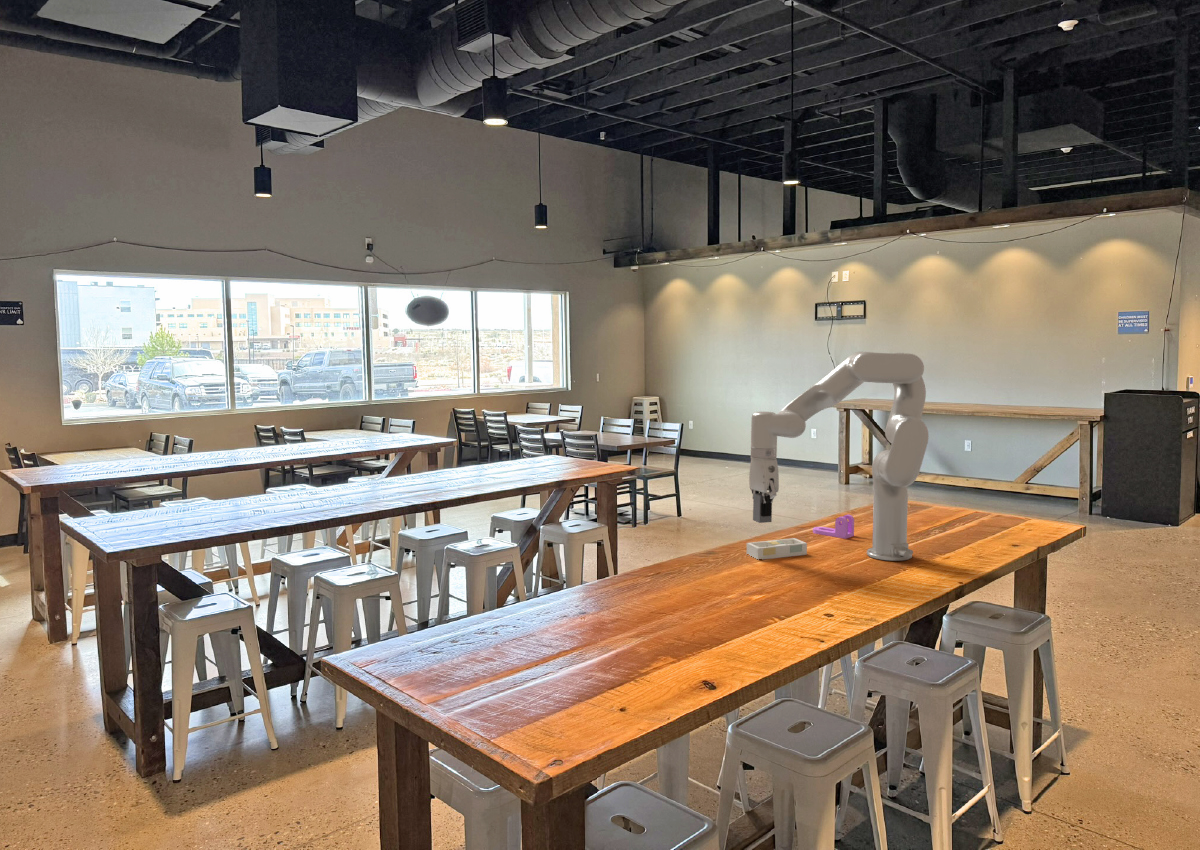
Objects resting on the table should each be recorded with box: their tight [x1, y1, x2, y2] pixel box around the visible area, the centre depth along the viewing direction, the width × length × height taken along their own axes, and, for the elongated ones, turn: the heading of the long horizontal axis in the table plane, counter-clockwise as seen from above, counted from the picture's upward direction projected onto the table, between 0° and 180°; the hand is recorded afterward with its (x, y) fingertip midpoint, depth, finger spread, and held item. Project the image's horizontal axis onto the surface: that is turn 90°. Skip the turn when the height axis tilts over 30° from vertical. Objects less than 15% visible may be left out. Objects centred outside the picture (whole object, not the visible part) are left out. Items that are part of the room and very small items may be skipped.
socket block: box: [746, 537, 808, 561], centre depth 245 cm, size 7×17×4 cm, turn 108°
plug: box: [752, 492, 773, 524], centre depth 242 cm, size 4×4×8 cm
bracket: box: [812, 514, 855, 540], centre depth 269 cm, size 13×6×7 cm, turn 45°
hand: (762, 513), depth 242 cm, fingers closed on plug, 3 cm apart
